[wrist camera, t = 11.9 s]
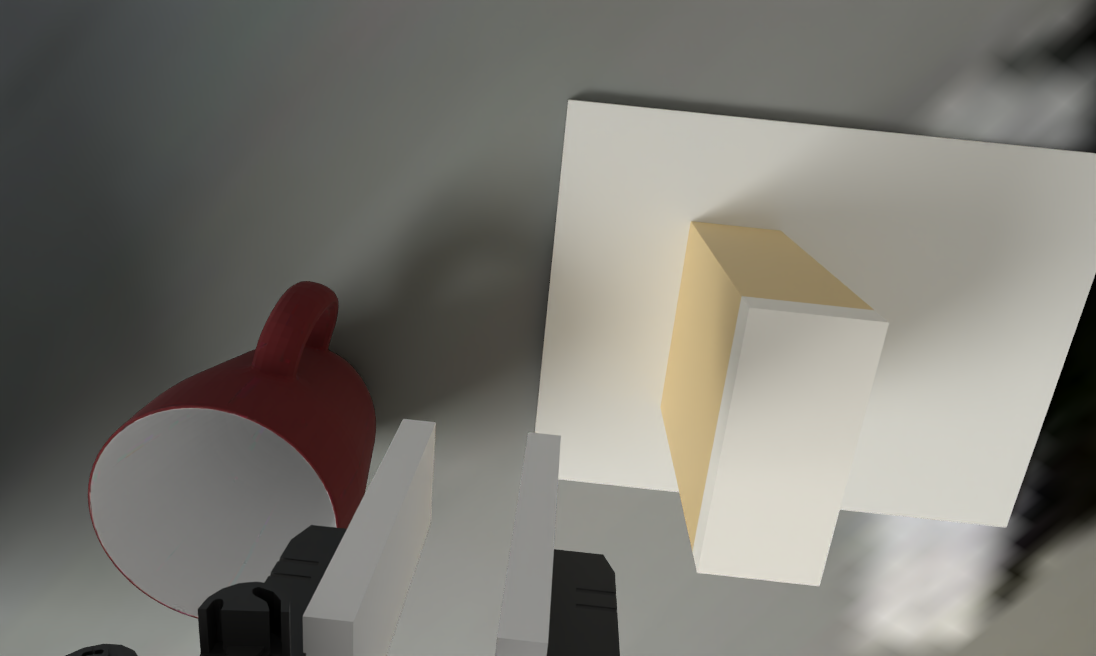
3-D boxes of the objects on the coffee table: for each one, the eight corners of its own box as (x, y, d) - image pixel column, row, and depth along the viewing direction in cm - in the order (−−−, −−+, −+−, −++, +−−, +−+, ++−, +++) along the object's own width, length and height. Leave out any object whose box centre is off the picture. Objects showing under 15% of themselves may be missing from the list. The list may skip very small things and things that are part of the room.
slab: (660, 407, 32) (697, 572, 22) (690, 221, 29) (749, 307, 19) (742, 416, 32) (819, 586, 21) (780, 230, 29) (889, 322, 19)
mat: (531, 469, 34) (530, 476, 33) (568, 99, 28) (568, 99, 28) (999, 519, 34) (1006, 527, 33) (1124, 156, 28) (1136, 157, 28)
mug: (234, 229, 31) (80, 302, 21) (428, 266, 31) (361, 355, 22) (224, 453, 34) (88, 601, 25) (399, 486, 34) (329, 645, 25)
